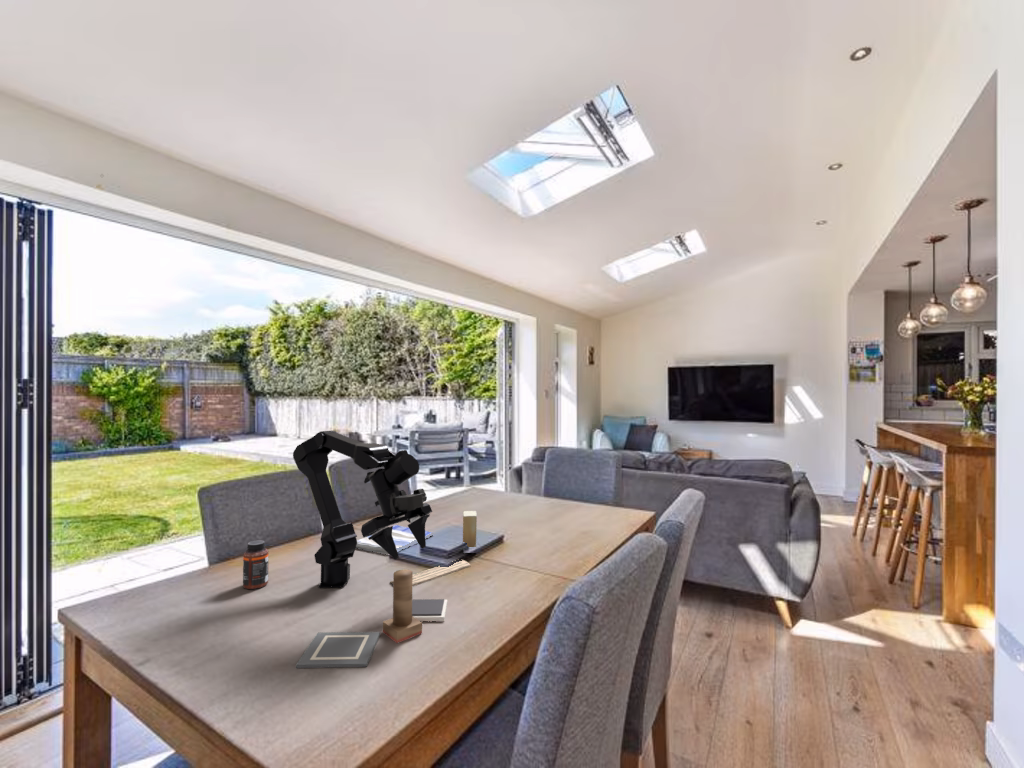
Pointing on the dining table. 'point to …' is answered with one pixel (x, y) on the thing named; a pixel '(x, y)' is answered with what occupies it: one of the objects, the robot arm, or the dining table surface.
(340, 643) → the form board
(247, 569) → the supplement bottle
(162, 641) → the dining table surface
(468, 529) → the skincare box
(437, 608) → the ink pad
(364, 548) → the dish towel
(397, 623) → the stamp
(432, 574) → the newspaper
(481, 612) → the dining table surface
